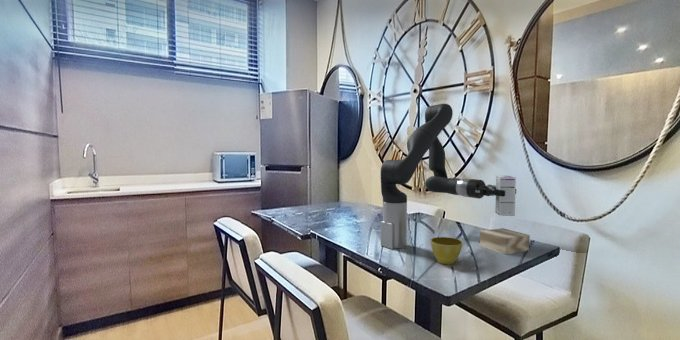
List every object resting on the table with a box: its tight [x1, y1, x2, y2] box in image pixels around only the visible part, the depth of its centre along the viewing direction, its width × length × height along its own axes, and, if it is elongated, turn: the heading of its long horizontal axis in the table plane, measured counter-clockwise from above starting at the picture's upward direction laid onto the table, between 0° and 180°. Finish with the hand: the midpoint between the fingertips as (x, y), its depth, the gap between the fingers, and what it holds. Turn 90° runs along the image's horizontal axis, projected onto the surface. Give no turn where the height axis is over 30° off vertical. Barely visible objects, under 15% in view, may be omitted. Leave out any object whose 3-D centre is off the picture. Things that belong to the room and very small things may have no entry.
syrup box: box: [495, 175, 517, 217], centre depth 131 cm, size 6×6×14 cm
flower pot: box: [430, 236, 463, 265], centre depth 116 cm, size 10×10×7 cm
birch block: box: [479, 227, 531, 255], centre depth 132 cm, size 12×12×6 cm
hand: (510, 192), depth 129 cm, fingers closed on syrup box, 8 cm apart
